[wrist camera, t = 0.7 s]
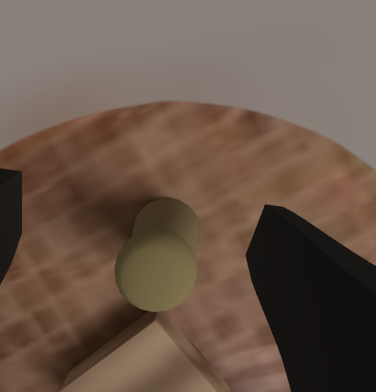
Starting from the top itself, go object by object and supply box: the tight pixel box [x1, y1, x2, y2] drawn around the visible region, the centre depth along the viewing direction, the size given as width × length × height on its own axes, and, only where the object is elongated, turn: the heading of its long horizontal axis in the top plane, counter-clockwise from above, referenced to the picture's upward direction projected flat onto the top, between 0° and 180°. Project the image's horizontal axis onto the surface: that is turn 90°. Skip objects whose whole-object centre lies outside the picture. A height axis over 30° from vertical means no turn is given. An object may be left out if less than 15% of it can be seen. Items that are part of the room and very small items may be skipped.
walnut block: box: [59, 311, 231, 392], centre depth 32 cm, size 11×11×3 cm
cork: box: [115, 198, 200, 312], centre depth 25 cm, size 6×6×11 cm
